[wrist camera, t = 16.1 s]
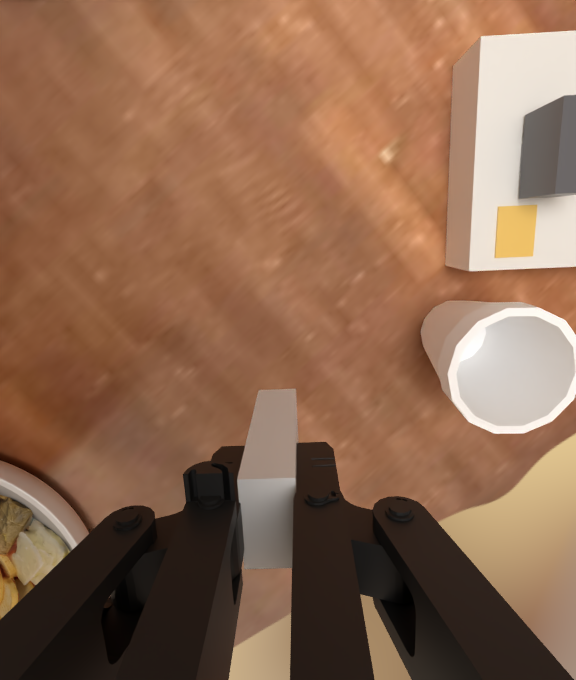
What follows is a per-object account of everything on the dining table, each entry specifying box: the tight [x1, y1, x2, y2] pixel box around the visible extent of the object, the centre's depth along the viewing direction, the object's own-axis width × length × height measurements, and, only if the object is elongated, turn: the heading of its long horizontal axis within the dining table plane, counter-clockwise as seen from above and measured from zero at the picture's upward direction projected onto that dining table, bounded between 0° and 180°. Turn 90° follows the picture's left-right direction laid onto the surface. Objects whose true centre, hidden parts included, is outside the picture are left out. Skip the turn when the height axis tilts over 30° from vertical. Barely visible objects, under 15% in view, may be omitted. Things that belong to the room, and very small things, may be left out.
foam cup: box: [420, 300, 576, 434], centre depth 37 cm, size 10×9×13 cm
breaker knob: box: [519, 95, 576, 199], centre depth 31 cm, size 6×3×5 cm, turn 3°
